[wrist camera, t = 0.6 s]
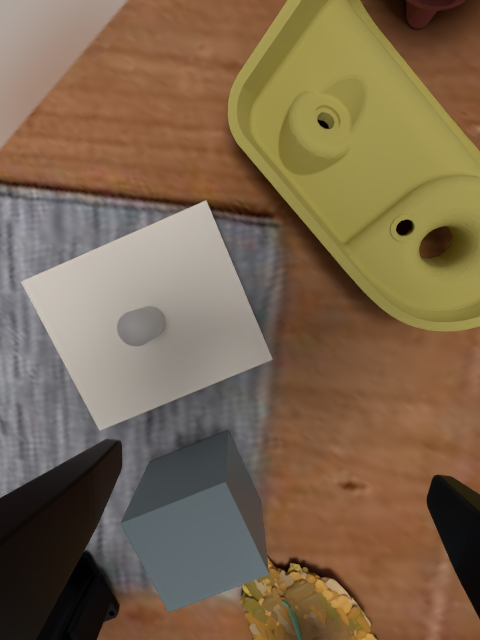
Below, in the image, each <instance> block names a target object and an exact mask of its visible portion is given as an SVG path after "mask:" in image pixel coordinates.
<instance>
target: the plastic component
mask: <svg viewBox="0 0 480 640" xmlns="http://www.w3.org/2000/svg"><path fill="white" fill-rule="evenodd" d="M317 120H322V121H324V122H326V123H327V124H328V126H329V128H330V129H324V128H323V127H321V126H320V125H319V123H318V121H317ZM228 121H229V127H230V130H231V133H232V135H233V137H234V139H235V141H236V143H237V144H238V145H239V146H240V147H241V149H242V150H243V151H244V152H245V153H246V154H247V156H248V157H249V158H250V159H251V160H252V162H253V163H254V164H255V165H256V166H257V167H258V169H259V170H260V171H261V172H262V173H263V175H264V176H265V177H266V178H267V179H268V180H269V182H270V183H271V184H272V185H273V186H274V188H275V189H276V190H277V191H278V192H279V193H280V195H281V196H282V197H283V198H284V199H285V201H286V202H287V203H288V204H289V205H290V206H291V208H292V209H293V210H294V211H295V212H296V214H297V215H298V216H299V217H300V218H301V219H302V221H303V222H304V223H305V224H306V225H307V227H308V228H309V229H310V230H311V231H312V232H313V234H314V235H315V236H316V237H317V238H318V240H319V241H320V242H321V243H322V244H323V245H324V247H325V248H326V249H327V250H328V251H329V253H330V254H331V255H332V256H333V257H334V258H335V260H336V261H337V262H338V263H339V264H340V266H341V267H342V268H343V269H344V270H345V271H346V273H347V274H348V275H349V276H350V277H351V278H352V279H353V280H354V282H355V283H356V284H357V285H358V286H359V287H360V288H361V289H362V291H363V292H364V293H365V294H366V295H367V296H368V297H369V298H370V299H371V300H372V301H373V302H375V303H376V304H377V305H378V306H379V307H380V308H381V309H383V310H384V311H385V312H386V313H388V314H389V315H391V316H392V317H394V318H395V319H397V320H399V321H401V322H403V323H405V324H408V325H410V326H413V327H416V328H421V329H425V330H432V331H458V330H466V329H471V328H475V327H479V326H480V151H479V150H478V149H477V148H476V146H475V145H474V144H473V143H472V142H471V141H470V140H469V139H468V137H467V136H466V135H465V134H464V133H463V132H462V130H461V129H460V128H459V127H458V126H457V125H456V123H455V122H454V121H453V120H452V119H451V118H450V116H449V115H448V114H447V113H446V111H445V110H444V109H443V108H442V106H441V105H440V104H439V103H438V102H437V100H436V99H435V98H434V97H433V95H432V94H431V93H430V92H429V90H428V89H427V88H426V87H425V85H424V84H423V83H422V82H421V80H420V79H419V78H418V77H417V75H416V74H415V73H414V72H413V71H412V69H411V68H410V67H409V66H408V64H407V63H406V62H405V61H404V59H403V58H402V57H401V56H400V54H399V53H398V52H397V51H396V49H395V48H394V47H393V46H392V45H391V43H390V42H389V41H388V40H387V38H386V37H385V36H384V35H383V33H382V32H381V31H380V30H379V28H378V27H377V26H376V24H375V23H374V22H373V20H372V19H371V17H370V16H369V14H368V13H367V11H366V10H365V8H364V6H363V5H362V3H361V1H360V0H287V2H286V3H285V5H284V6H283V8H282V9H281V11H280V12H279V14H278V15H277V17H276V18H275V20H274V21H273V23H272V24H271V26H270V27H269V29H268V30H267V32H266V33H265V35H264V36H263V38H262V39H261V41H260V42H259V44H258V45H257V47H256V48H255V50H254V51H253V53H252V54H251V56H250V57H249V59H248V60H247V62H246V63H245V65H244V66H243V68H242V69H241V71H240V72H239V74H238V75H237V77H236V79H235V81H234V84H233V86H232V88H231V92H230V96H229V100H228ZM406 219H408V220H410V221H411V222H412V224H413V227H412V230H411V231H410V230H409V231H407V233H406V235H399V234H398V233H397V232H396V227H397V225H398V224H399V223H400V221H402V220H406ZM443 226H446V227H447V228H448V229H449V230H450V233H451V235H452V238H451V243H450V246H449V247H448V248H447V250H446V251H445V252H444V253H442V254H441V255H439V256H437V257H433V258H429V259H428V258H421V257H420V254H419V246H420V243H421V241H422V240H423V238H424V237H425V236H426V235H427V234H428V233H429V232H431V231H432V230H434V229H436V228H439V227H443Z"/></svg>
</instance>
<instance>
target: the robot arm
mask: <svg viewBox="0 0 480 640" xmlns="http://www.w3.org/2000/svg"><path fill="white" fill-rule="evenodd" d="M121 469H122V443H121V441H120V440H115V439H105V440H103V441H102V442H100V443H98V444H96V445H94V446H93V447H91V448H89V449H87V450H85V451H84V452H82V453H80V454H78V455H77V456H75V457H73V458H71V459H69V460H68V461H66V462H64V463H62V464H60V465H59V466H57V467H55V468H53V469H51V470H50V471H48V472H46V473H44V474H42V475H41V476H39V477H37V478H35V479H33V480H32V481H30V482H28V483H26V484H25V485H23V486H21V487H19V488H17V489H16V490H14V491H12V492H10V493H8V494H7V495H5V496H3V497H1V498H0V640H97V637H98V635H99V632H100V629H101V627H102V624H103V622H105V621H107V620H110V619H113V618H115V617H116V616H117V614H118V611H119V606H118V604H117V602H116V601H115V599H114V597H113V595H112V594H111V592H110V590H109V588H108V587H107V585H106V583H105V581H104V580H103V578H102V576H101V574H100V573H99V571H98V569H97V567H96V566H95V564H94V562H93V560H92V559H91V557H90V555H89V554H87V553H83V552H84V550H85V548H86V546H87V544H88V542H89V541H90V539H91V537H92V535H93V533H94V531H95V529H96V527H97V525H98V523H99V521H100V518H101V516H102V514H103V512H104V509H105V507H106V505H107V502H108V500H109V498H110V495H111V493H112V491H113V488H114V486H115V484H116V481H117V479H118V477H119V475H120V472H121ZM427 506H428V509H429V512H430V514H431V516H432V519H433V521H434V523H435V526H436V528H437V530H438V533H439V535H440V538H441V540H442V542H443V545H444V547H445V549H446V552H447V554H448V556H449V559H450V561H451V563H452V566H453V568H454V570H455V572H456V574H457V576H458V578H459V580H460V582H461V584H462V586H463V588H464V590H465V592H466V594H467V596H468V598H469V600H470V602H471V603H472V605H473V607H474V609H475V611H476V613H477V615H478V617H479V619H480V494H478V493H476V492H475V491H473V490H472V489H470V488H469V487H467V486H466V485H464V484H462V483H461V482H459V481H458V480H456V479H455V478H453V477H451V476H445V475H435V476H434V477H433V478H432V481H431V485H430V488H429V492H428V495H427Z"/></svg>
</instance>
